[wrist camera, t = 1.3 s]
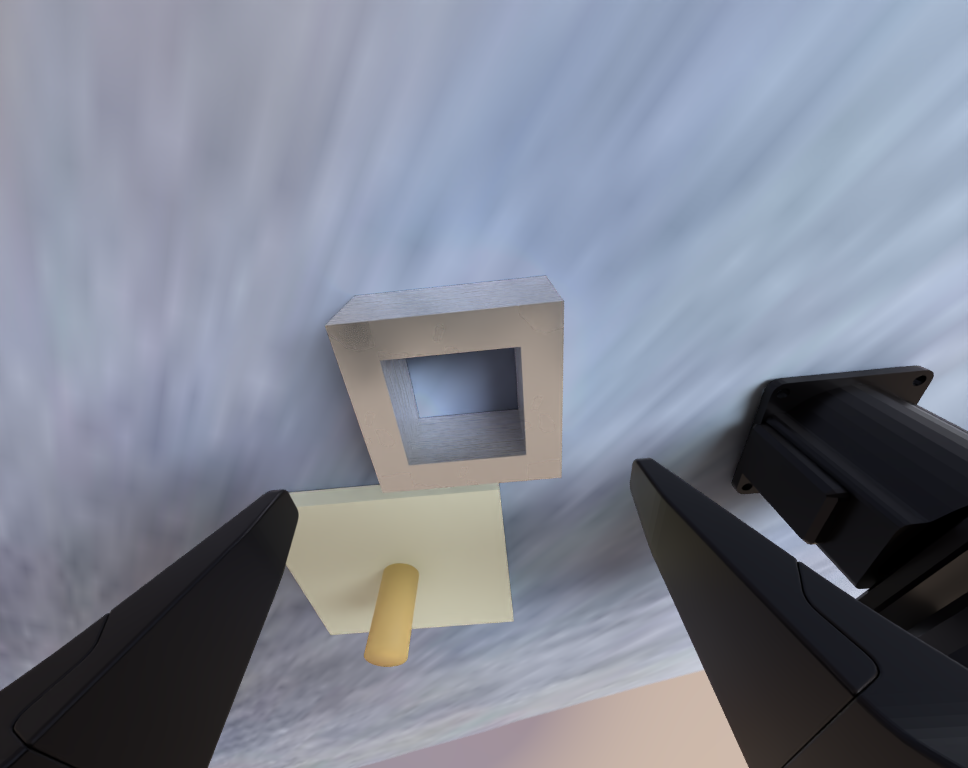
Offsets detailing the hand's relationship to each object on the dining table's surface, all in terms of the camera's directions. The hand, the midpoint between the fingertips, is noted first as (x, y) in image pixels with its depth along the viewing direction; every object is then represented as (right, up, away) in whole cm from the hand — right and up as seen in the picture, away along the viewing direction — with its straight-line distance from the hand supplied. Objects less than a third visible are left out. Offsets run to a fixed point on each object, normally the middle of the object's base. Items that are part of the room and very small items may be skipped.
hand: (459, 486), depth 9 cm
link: (0, +3, +5) cm, 6 cm away
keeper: (-4, -8, +12) cm, 14 cm away
